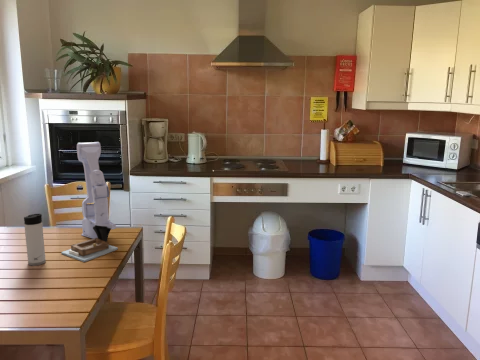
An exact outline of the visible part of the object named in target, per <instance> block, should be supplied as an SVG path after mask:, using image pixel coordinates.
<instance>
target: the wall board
mask: <svg viewBox="0 0 480 360" xmlns="http://www.w3.org/2000/svg"><path fill="white" fill-rule="evenodd" d="M108 247H109V248H107V249H104V250H101V251H98V252H94V253H91V254H88V255H85V256H82V255H79V253H77V252H74V251H72V250H71V248H69V249H67V250H63V251H61V255H63V256H67V257H69V258H72V259H74V260H78V261H81V262H82V263H85V262H88V261H91V260H93V259H96V258H99V257H101V256H104V255H106V254H110V253H112V252H115V251H117V250H118V248H119V247H117V246H114V245H111V244H108Z"/></svg>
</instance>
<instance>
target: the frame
mask: <svg viewBox="0 0 480 360" xmlns="http://www.w3.org/2000/svg"><path fill="white" fill-rule="evenodd" d="M108 245H109V242H108V241H107V242H105V241H103V240H100V239H98V238H95V239H93V238H90V239H89V240H88V239H87V240H85V241H84V240H83V241H81V242H77V243H74V244H71V245H70V249H71V250H72V251H74V252H77V253H79V255H82V256H85V255H88V254H91V253H94V252H98V251H101V250H104V249H107V248H109V247H108Z"/></svg>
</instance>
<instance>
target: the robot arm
mask: <svg viewBox="0 0 480 360" xmlns="http://www.w3.org/2000/svg"><path fill="white" fill-rule="evenodd" d="M76 153H77V159H78V162H80V163H82V165H83V170H84V179H85V187H86V188H85V189H86V194H87V195H86V196H87V197H86V198H84V200H82V203H81V213H82V217H83V218H82V222H81V227H82V233H81V234H80V235H81V236H83V237H87V238H90V239H95V238H98V239H100V240H103V241H105V242H108V240H109V235H110V232H111V231H112V230H115V229H117V223H114V222H112V221H111V220H110V219H109V216H110V215H109V197H110V188H109V185H108V184H107V182H106V180H105V176H104V172H103V171H101V170H100V165H99V158H100V156H101V153H102V147H101V142H99V141H94V142H92V141H91V142H77V144H76Z"/></svg>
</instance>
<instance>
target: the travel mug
mask: <svg viewBox="0 0 480 360" xmlns="http://www.w3.org/2000/svg"><path fill="white" fill-rule="evenodd" d="M42 216H43V215H42V213H32V214H29V215H27V216H24V217H23V221H24V223H23V224H24V233H25V246H26V254H27V256H26V257H27V264H28V266H32V267H33V266H40V265H41V266H42V265H43V264H44V263H46V261H47V260H46V252H45V251H46V250H45V238H44V228H43V227H44V225H43V220H42V219H43V217H42Z"/></svg>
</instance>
